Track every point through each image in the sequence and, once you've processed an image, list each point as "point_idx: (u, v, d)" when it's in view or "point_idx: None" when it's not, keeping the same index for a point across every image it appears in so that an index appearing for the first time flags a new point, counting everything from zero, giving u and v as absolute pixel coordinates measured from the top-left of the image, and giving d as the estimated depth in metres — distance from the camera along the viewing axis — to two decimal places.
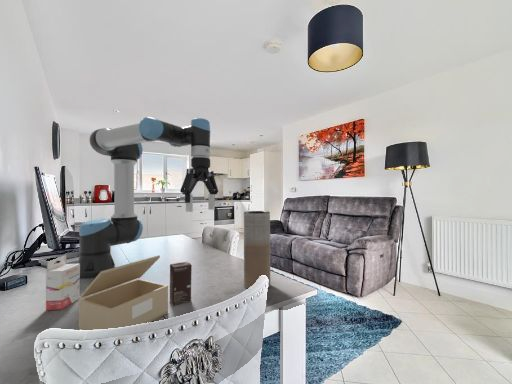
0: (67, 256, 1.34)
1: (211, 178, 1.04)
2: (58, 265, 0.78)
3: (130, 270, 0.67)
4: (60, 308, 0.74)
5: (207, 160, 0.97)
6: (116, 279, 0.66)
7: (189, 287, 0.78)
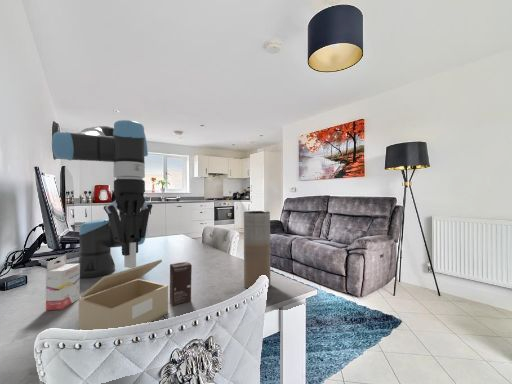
0: (67, 256, 1.34)
1: (144, 213, 0.69)
2: (58, 265, 0.78)
3: (131, 274, 0.67)
4: (60, 308, 0.74)
5: (137, 183, 0.64)
6: (117, 281, 0.66)
7: (189, 287, 0.78)
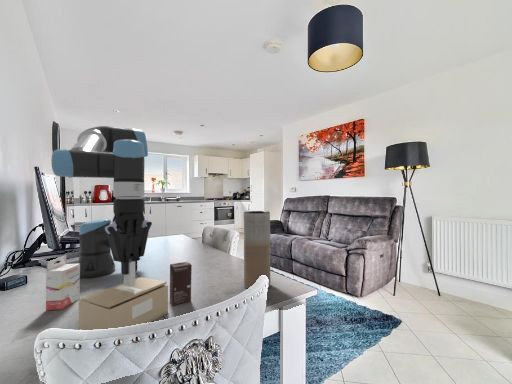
0: (67, 256, 1.34)
1: (143, 231, 0.70)
2: (58, 265, 0.78)
3: None
4: (60, 308, 0.74)
5: (137, 203, 0.64)
6: None
7: (189, 287, 0.78)
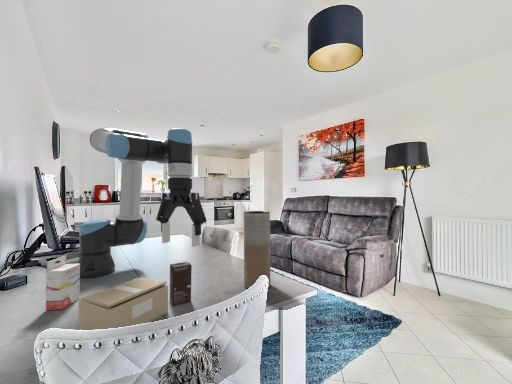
0: (67, 256, 1.34)
1: None
2: (58, 265, 0.78)
3: None
4: (60, 308, 0.74)
5: (170, 181, 0.76)
6: None
7: (189, 287, 0.78)
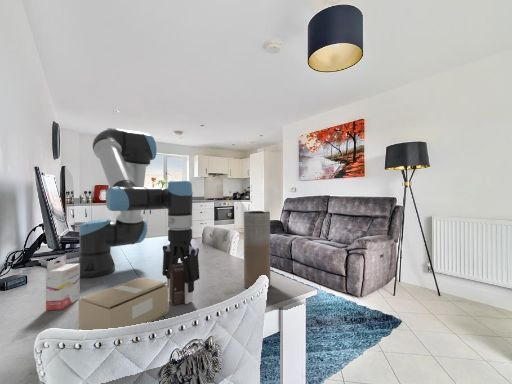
0: (67, 256, 1.34)
1: None
2: (58, 265, 0.78)
3: None
4: (60, 308, 0.74)
5: (170, 234, 0.76)
6: None
7: None
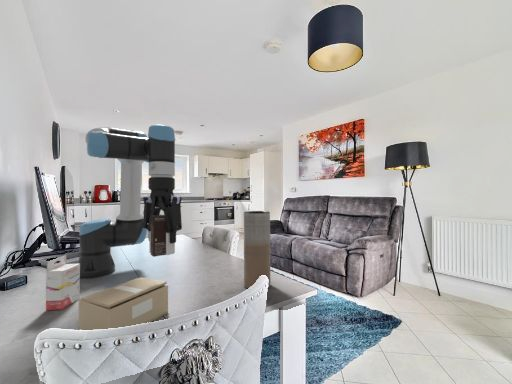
0: (67, 256, 1.34)
1: None
2: (58, 265, 0.78)
3: None
4: (60, 308, 0.74)
5: (151, 180, 0.71)
6: None
7: None
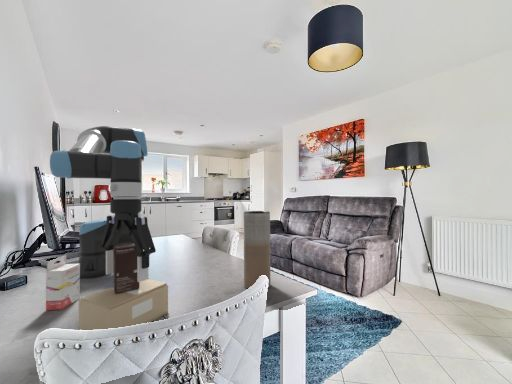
0: (67, 256, 1.34)
1: None
2: (58, 265, 0.78)
3: None
4: (60, 308, 0.74)
5: (112, 203, 0.64)
6: None
7: None
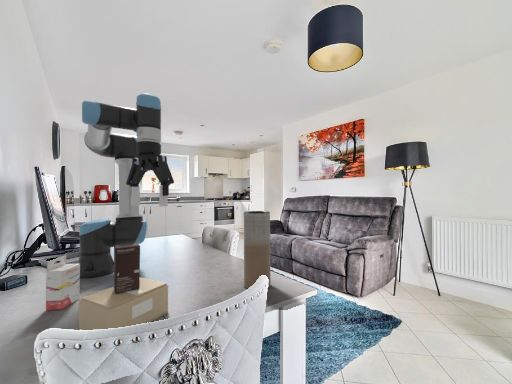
0: (67, 256, 1.34)
1: None
2: (58, 265, 0.78)
3: None
4: (60, 308, 0.74)
5: (138, 144, 0.79)
6: None
7: (137, 272, 0.66)
